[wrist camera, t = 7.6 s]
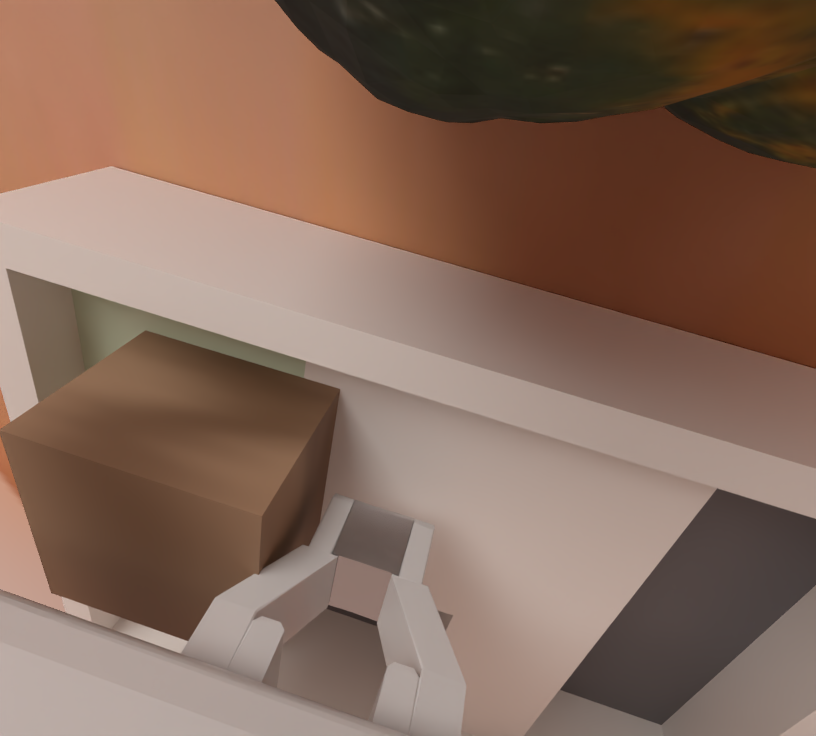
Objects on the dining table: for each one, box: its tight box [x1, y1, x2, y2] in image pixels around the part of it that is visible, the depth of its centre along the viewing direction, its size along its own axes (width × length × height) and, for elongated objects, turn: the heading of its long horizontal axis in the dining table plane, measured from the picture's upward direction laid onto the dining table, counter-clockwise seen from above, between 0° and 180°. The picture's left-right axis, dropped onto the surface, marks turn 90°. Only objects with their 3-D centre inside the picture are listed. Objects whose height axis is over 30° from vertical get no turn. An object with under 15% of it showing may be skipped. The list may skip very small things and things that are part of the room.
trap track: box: [0, 166, 816, 736], centre depth 15 cm, size 25×17×4 cm
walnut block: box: [0, 330, 340, 641], centre depth 12 cm, size 5×5×4 cm
